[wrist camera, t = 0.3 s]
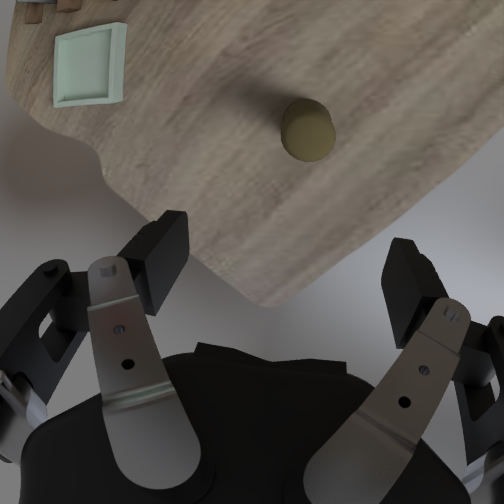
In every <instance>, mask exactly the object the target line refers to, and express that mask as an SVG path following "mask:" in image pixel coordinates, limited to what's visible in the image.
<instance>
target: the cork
mask: <svg viewBox="0 0 504 504" xmlns="http://www.w3.org/2000/svg"><path fill="white" fill-rule="evenodd" d="M281 141H282V144H283V146H284V148H285V150H286V151H287V152H288V153H289V154H290V155H291V156H293V157H294V158H296V159H297V160H301V161H304V162H315V161H318V160H321V159H323V158H324V157H325V156H327V155H328V154H329V153H330V151H331V150H332V149H333V147H334V144H335V141H336V131H335V129H334V126H333V123H332V122H331V117H330V114H329V112H328V110H327V109H326V108H325V107H324V106H323V105H322V104H320V103H319V102H317V101H314V100H310V99H303V100H299V101H296V102H294V103H293V104H291V105H290V106H289V107H288V108H287V110H286V111H285V113H284V117H283V125H282V129H281Z"/></svg>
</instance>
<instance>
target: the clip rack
mask: <svg viewBox="0 0 504 504" xmlns="http://www.w3.org/2000/svg"><path fill="white" fill-rule="evenodd" d="M114 1H117V0H114ZM81 2H82V0H58V3H57V10H56V12H64V13H70V12H73V11H77V10H80V9H81ZM43 7H44V3H37V2H28V4H27V11H26V18H25V24H38V23H41V22H42V14H43Z"/></svg>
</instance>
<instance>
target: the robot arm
mask: <svg viewBox="0 0 504 504" xmlns="http://www.w3.org/2000/svg"><path fill="white" fill-rule="evenodd" d="M188 256H189V232H188V217H187V213H186V212H185V211H174V210H166V211H165V212H164V214H163V215H162V216H161V217H160V218H159V219H158V220H157V221H152V222H150V223H149V224H147V225H145V226H143V227H142V229H140V231H139V232H138V233H137V235H135V236H134V237H133V238H132V240H130V241H129V242H128V243H127V245H126V246H125V247H124V248H123V249H122V250H121V251H120V252H119V253H118V255H117V256H108V257H103V258H101V259H98V260H96V261H95V262H94V263H92V264H91V265H90V267H89V268H88V271H85V272H70V269H69V266H68V263H67V262H66V261H64V260H61V259H55V260H51V261H48V262H46V263H43V264H42V265H40V266H39V267H38V268H37V269H36V270H35V271H34V272H33V273H32V274H31V275H30V276H29V277H28V279H27V280H26V281H25V282H24V283H23V284H22V285H21V286H20V287H19V288H18V290H17V291H16V292H15V293H14V294H13V295H12V296H11V298H10V299H9V300H8V301H7V302H6V303H5V305H4V306H3V307H2V308H1V310H0V459H1V460H2V461H4V462H7V463H15V464H16V465H18V466H19V467H20V468H21V490H20V500H19V504H504V317H503V316H494V317H493V318H492V319H491V320H490V322H489V324H488V325H487V326H485V325H482V324H480V323H477V322H474V321H471V316H470V313H469V311H468V310H467V308H466V307H465V306H464V305H462V304H461V303H460V302H458V301H456V300H454V299H451V298H449V296H448V294H447V292H446V290H445V288H444V286H443V284H442V282H441V280H440V279H439V276H438V274H437V272H436V270H435V268H434V266H433V264H432V262H431V261H430V260H429V259H428V258H427V257H426V256H424V255H423V254H420V252H419V250H418V249H417V247H416V245H415V243H414V241H413V240H409V239H403V238H394V239H393V240H392V242H391V246H390V249H389V253H388V256H387V259H386V262H385V265H384V269H383V272H382V277H381V286H382V290H383V294H384V297H385V302H386V305H387V309H388V313H389V317H390V322H391V326H392V330H393V334H394V339H395V344H396V348H397V349H403V351H402V352H401V354H400V355H399V357H398V358H397V360H396V361H395V362H394V364H393V365H392V367H391V368H390V369H389V370H388V372H387V373H386V374H385V376H384V377H383V379H382V380H381V381H380V382H379V384H378V385H377V386H376V387H373V386H372V385H371V384H369V383H368V382H366V381H364V380H362V379H361V378H358V377H356V376H354V375H351V374H348V373H347V369H346V362H342V361H330V360H318V359H301V360H290V361H277V362H271V361H267V360H263V359H261V358H258V357H255V356H252V355H250V354H247V353H245V352H242V351H239V350H237V349H234V348H229V347H223V346H217V345H211V344H205V343H200V342H198V343H197V346H196V349H195V351H194V353H182V354H176V355H172V356H169V357H166V358H163V359H161V356H160V354H159V351H158V349H157V346H156V344H155V341H154V338H153V335H152V333H151V330H150V327H149V324H148V321H147V318H146V316H145V314H147V315H152V316H156V314H157V312H158V311H159V309H160V307H161V305H162V304H163V302H164V300H165V298H166V296H167V295H168V293H169V291H170V290H171V288H172V286H173V284H174V283H175V281H176V279H177V277H178V276H179V274H180V272H181V271H182V269H183V267H184V265H185V264H186V262H187V260H188ZM48 313H49V314H50V316H51V318H52V320H53V321H52V323H51V324H50V326H49V327H48V328H47V330H46V331H45V333H44V334H43V336H42V337H41V338H39V332H38V331H39V326H40V324H41V322H42V321H43V319H44V318H45V317H46V315H47V314H48ZM87 332H90V335H91V341H92V348H93V354H94V360H95V366H96V370H97V376H98V381H99V386H100V391H101V393H99V394H97V395H95V396H93V397H91V398H89V399H88V400H86V401H84V402H82V403H80V404H78V405H76V406H74V407H72V408H71V409H68V410H67V411H65V412H63V413H61V414H59V415H57V416H55V417H53V418H51V419H49V420H47V408H46V405H47V404H48V402H49V400H50V398H51V396H52V394H53V392H54V390H55V388H56V386H57V385H58V383H59V381H60V379H61V377H62V376H63V374H64V372H65V370H66V368H67V367H68V365H69V363H70V361H71V359H72V358H73V356H74V354H75V353H76V351H77V349H78V348H79V346H80V344H81V342H82V341H83V339H84V337H85V336H86V334H87ZM495 374H496V376H497V379H498V382H499V385H500V393H499V397H498V399H497V401H495V398H494V394H493V390H492V386H491V383H490V380H491V379H492V378H493V377H494V375H495ZM450 380H452V381H454V385H455V390H456V395H457V400H458V405H459V410H460V416H461V422H462V427H463V434H464V442H465V450H466V459H467V468H466V469H465V471H464V473H463V476H462V482H461V481H460V480H459V478H458V477H457V476H456V475H455V474H454V473H453V472H452V471H451V470H450V469H449V467H448V466H447V465H446V464H445V463H444V462H443V461H442V460H441V459H440V458H439V457H438V455H437V454H436V453H435V452H434V451H433V450H432V449H431V448H430V447H429V446H428V444H426V442H425V441H424V440H423V439H422V438H421V436H422V434H423V433H424V431H425V429H426V428H427V425H428V424H429V422H430V420H431V418H432V417H433V415H434V413H435V411H436V409H437V407H438V405H439V403H440V401H441V399H442V397H443V395H444V393H445V391H446V389H447V387H448V385H449V382H450ZM46 420H47V421H46Z"/></svg>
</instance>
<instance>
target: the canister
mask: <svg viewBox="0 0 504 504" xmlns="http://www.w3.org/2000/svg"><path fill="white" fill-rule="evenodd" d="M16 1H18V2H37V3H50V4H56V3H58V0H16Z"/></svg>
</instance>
